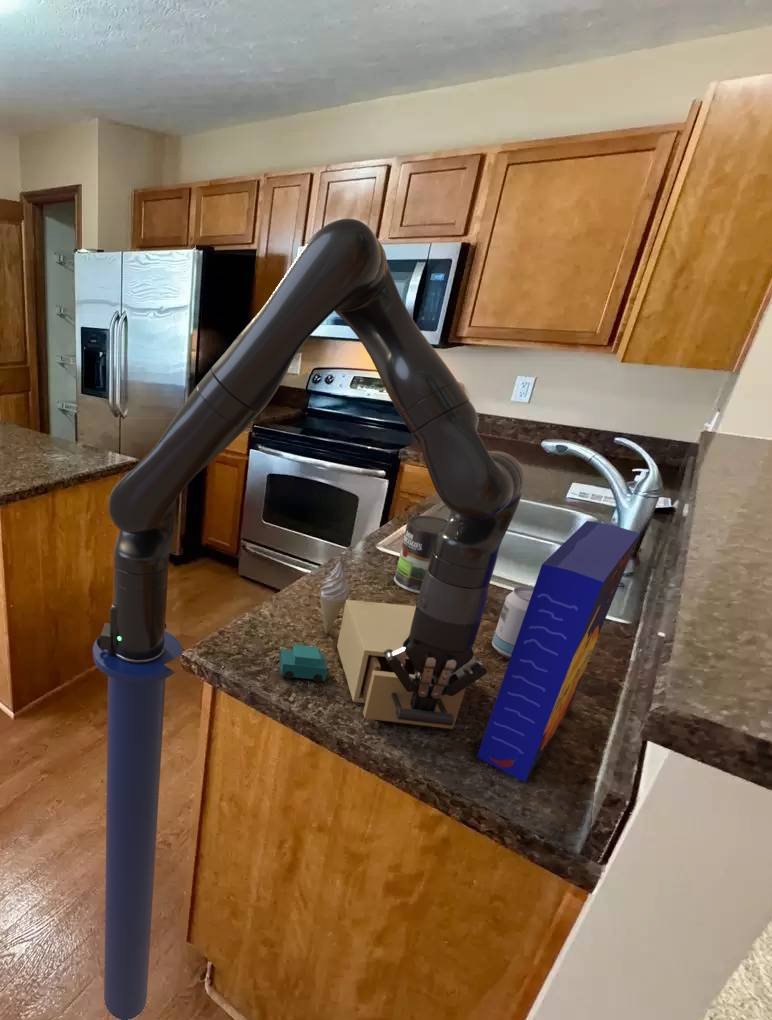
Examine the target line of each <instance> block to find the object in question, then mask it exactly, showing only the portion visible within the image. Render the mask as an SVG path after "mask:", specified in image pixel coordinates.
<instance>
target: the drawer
mask: <svg viewBox="0 0 772 1020" xmlns="http://www.w3.org/2000/svg"><path fill="white" fill-rule="evenodd" d="M405 661H406V664H405V665H404V668H405V670H406V671H407V673H408V674H409V675H410V677H412V678H414V676H415V669H414V666H413V664H412V663H411V661H410V659H405ZM456 682H457V681H456ZM466 689H467V687H466V688H464V689H463V690H461V691H460V692H458V693H457V694H456V695H454V696H448V695H447V694H446V695H442V696H440V697H439V698H438V701H437V704H436V708H435V711H425V710H417V709H411V706H410V701H411V698H412V694H413V692H408V691H406V689H405V688H404V686H403V685H402V683H401V682H400V680H399V679H398V677H397V676H396V674H395V673H394V671H393V670H392V669H391V667H390V666H389V664H388V661H387V659H386V657H383V656H373V655H369V656H368V661H367V665H366V670H365V674H364V679H363V683H362V688H361V691H362V694H363V697H364V700H365V703H364V707H363V711H362V714H363V715H362V716H363V717H364V719H367V720H376V721H383V722H392V723H398V724H399V723H400V724H409V725H415V726H416V725H417V726H424V727H434V728H441V729H442V728H443V729H450V730H454V728H455V725H456V721H457V718H458V715H459V713H460V709H461V707H462V706H461V705H462V703H463V700H464V696H465V692H466Z"/></svg>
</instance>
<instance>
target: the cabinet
mask: <svg viewBox="0 0 772 1020" xmlns="http://www.w3.org/2000/svg"><path fill="white" fill-rule="evenodd" d="M415 609H416V605H408V604H407V605H406V604H396V603H388V602H387V603H385V602H374V601H366V600H365V601H364V600H354V599H352V600H351V599H347V600H346V601H345V603H344V609H343V614H342V618H341V619H342V620H341V624H340V630H339V635H338V639H337V645H336V648H337V652H338V654H339V658H340V661H341V665H342V668H343V671H344V675H345V679H346V682H347V685H348V689H349V692H350V696H351V700H352V703H359V704H365V700H364V697H363V694H362V691H361V688H362V683H363V679H364V674H365V670H366V665H367V661H368V656H369V655H373V656H383V657H385V654H384V652H385V651H386V650H388V649H391V650H393V651H395V650H397V649H399V648H402V647H403V643H404V641H405V640H406V639H407V638H408V637H409V635H410V629H411V625H412V621H413V617H414V613H415ZM405 659H409V658H408V656H406V658H405Z"/></svg>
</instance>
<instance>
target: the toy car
mask: <svg viewBox="0 0 772 1020" xmlns="http://www.w3.org/2000/svg"><path fill="white" fill-rule="evenodd" d="M279 668H280V669H279V670H280V676H281V677H284V678H285V679H288V680H291V679H293V678H296V679H307V680H313V681H314V682H316V683H321V682H323V681H324V682H326V678H327V673H328V666H327V662H326V657H325V654H324V653H323V652H320V651H319V647H318V646H313V645H312V646H311V645H302V644H293V645H292V649H284V648H281V649H280V654H279Z"/></svg>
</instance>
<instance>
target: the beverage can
mask: <svg viewBox="0 0 772 1020" xmlns="http://www.w3.org/2000/svg"><path fill="white" fill-rule="evenodd" d="M533 589H534V587H530V586H517V587H514V589H513V590H512V591H511V592H510V593H509V594H508V595H506V596H505V600H504V603H503V606H502V609H501V612H500V616H499V619H498V622H497V626H496V628H495V631H494V634H493V638H492V641H491V645H492V647H493V648H494V650H496V651H497V653H498V654H499V655H501V656H502V657H504V658H506V659H508V660H510V657H511V654H512V651H513V648H514V646H515V643H516V640H517V637H518V634H519V631H520V628H521V625H522V622H523V619H524V616H525V613H526V610H527V607H528V604H529V601H530V598H531V595H532V592H533Z"/></svg>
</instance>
